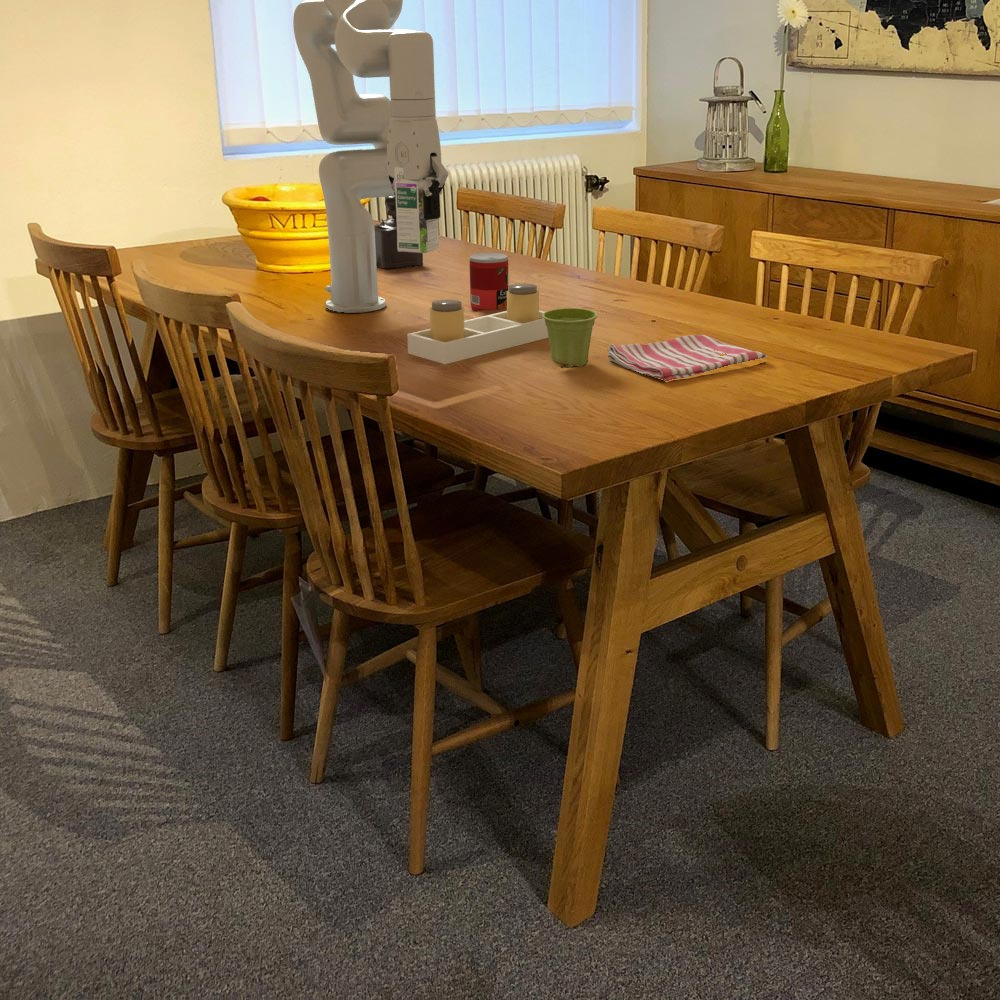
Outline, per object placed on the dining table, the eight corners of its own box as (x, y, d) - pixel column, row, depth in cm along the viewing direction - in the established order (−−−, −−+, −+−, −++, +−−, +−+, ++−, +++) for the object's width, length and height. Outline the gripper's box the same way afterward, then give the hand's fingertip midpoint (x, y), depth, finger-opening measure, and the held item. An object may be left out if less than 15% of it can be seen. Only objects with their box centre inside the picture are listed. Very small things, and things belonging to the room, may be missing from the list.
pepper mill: (366, 263, 286) (362, 189, 279) (407, 259, 291) (404, 185, 284) (391, 274, 273) (387, 196, 266) (433, 269, 278) (430, 193, 271)
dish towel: (603, 363, 201) (603, 343, 200) (708, 344, 212) (709, 326, 210) (662, 387, 187) (663, 367, 186) (771, 366, 198) (772, 346, 197)
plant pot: (580, 373, 194) (581, 323, 190) (532, 366, 198) (532, 316, 195) (605, 360, 201) (607, 311, 198) (558, 353, 206) (559, 305, 202)
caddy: (408, 357, 204) (407, 333, 203) (523, 328, 222) (523, 306, 221) (445, 368, 198) (444, 344, 196) (561, 338, 216) (561, 315, 214)
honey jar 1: (424, 353, 204) (422, 303, 201) (449, 346, 208) (448, 297, 204) (446, 359, 200) (444, 308, 196) (472, 352, 204) (470, 302, 200)
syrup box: (396, 251, 202) (392, 166, 196) (412, 246, 207) (408, 162, 201) (425, 254, 199) (422, 167, 194) (440, 248, 204) (437, 163, 199)
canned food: (504, 314, 234) (504, 260, 230) (466, 313, 235) (465, 259, 231) (512, 305, 241) (511, 253, 237) (474, 304, 242) (473, 252, 238)
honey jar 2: (500, 334, 216) (500, 286, 212) (523, 328, 219) (523, 281, 216) (522, 339, 212) (522, 291, 208) (545, 333, 215) (545, 286, 212)
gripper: (365, 109, 198) (371, 213, 204) (427, 113, 186) (431, 224, 192) (400, 106, 202) (404, 209, 209) (463, 111, 190) (466, 219, 197)
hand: (417, 215), depth 201 cm, fingers closed on syrup box, 7 cm apart
